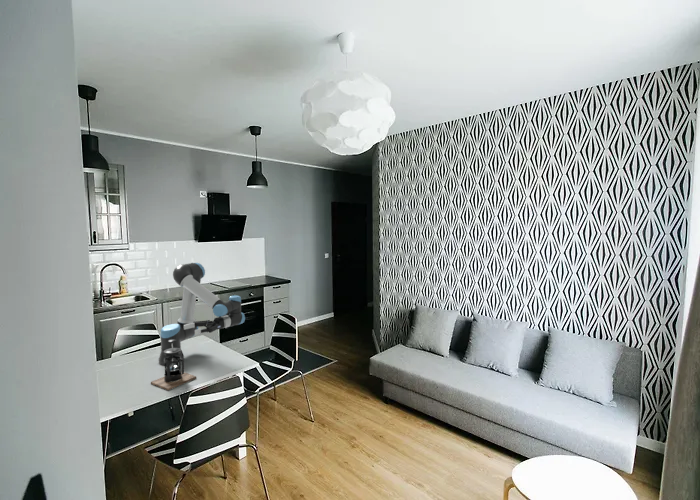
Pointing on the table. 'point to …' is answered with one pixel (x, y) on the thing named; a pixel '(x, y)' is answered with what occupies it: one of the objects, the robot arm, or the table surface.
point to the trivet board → (170, 385)
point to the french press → (172, 371)
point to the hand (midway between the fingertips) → (189, 329)
